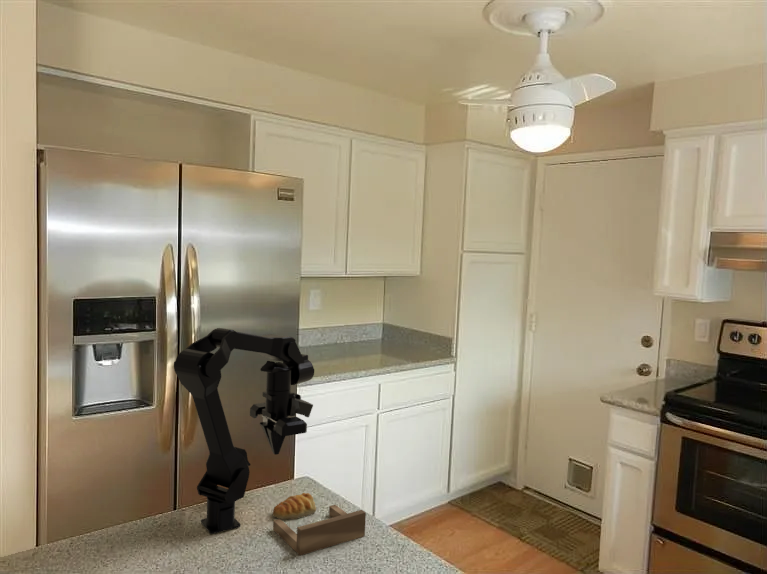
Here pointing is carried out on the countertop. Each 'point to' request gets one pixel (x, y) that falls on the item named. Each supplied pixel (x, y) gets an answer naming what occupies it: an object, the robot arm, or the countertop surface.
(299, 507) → the pastry
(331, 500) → the countertop surface
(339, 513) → the frame
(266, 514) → the countertop surface
